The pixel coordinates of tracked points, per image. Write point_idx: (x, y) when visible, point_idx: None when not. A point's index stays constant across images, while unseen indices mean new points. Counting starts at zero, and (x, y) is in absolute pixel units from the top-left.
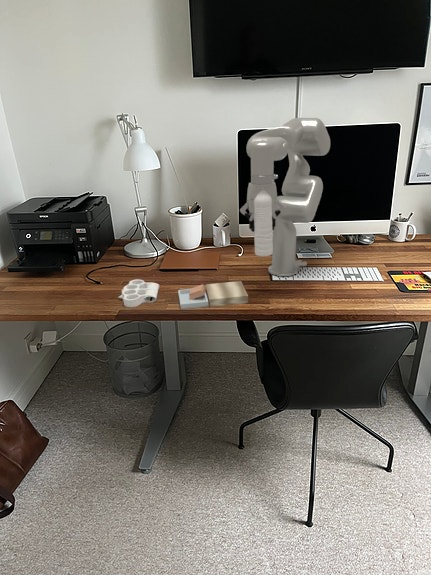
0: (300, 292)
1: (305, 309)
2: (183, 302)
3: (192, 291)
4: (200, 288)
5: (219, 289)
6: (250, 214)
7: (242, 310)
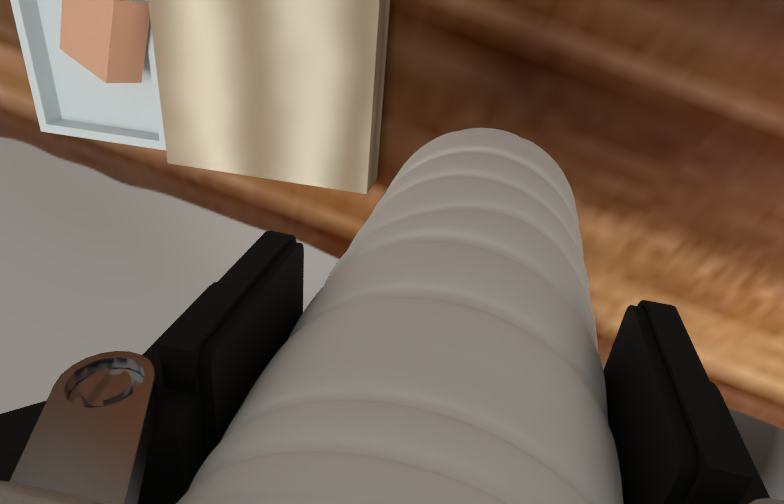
0: (719, 165)
1: (615, 333)
2: (59, 69)
3: (72, 35)
4: (104, 54)
5: (225, 56)
6: (66, 478)
7: (331, 235)
